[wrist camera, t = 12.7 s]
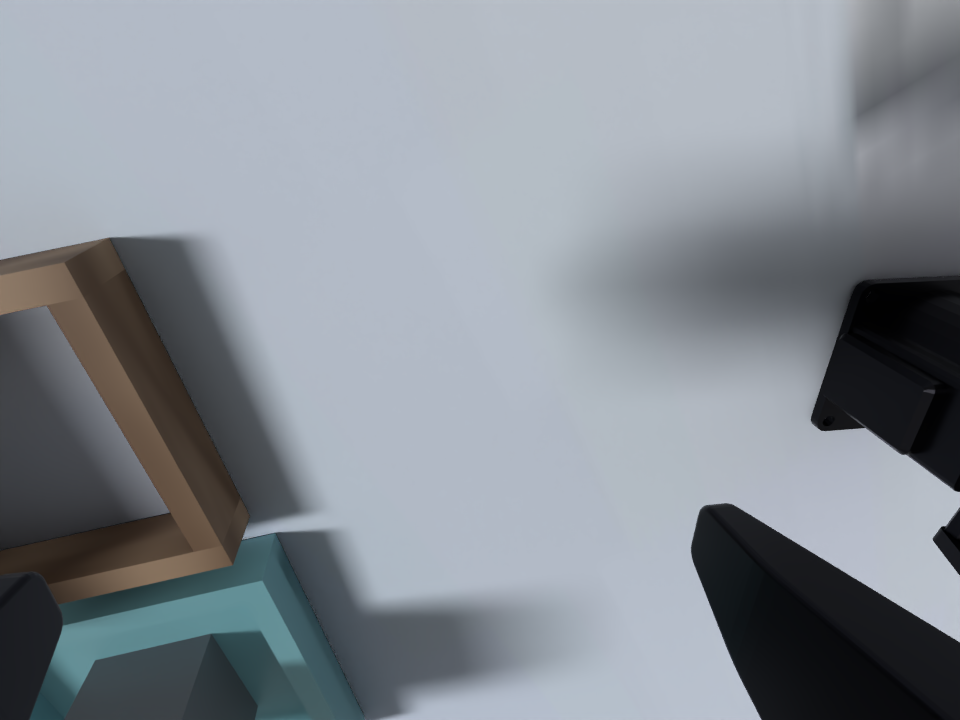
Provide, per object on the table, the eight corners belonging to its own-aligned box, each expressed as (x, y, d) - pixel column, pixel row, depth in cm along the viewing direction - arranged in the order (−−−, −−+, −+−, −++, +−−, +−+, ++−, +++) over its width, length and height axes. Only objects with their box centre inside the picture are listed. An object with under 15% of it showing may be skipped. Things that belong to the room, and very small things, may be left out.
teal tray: (275, 533, 22) (262, 580, 20) (364, 716, 29) (361, 767, 27) (-44, 604, 22) (-91, 660, 20) (118, 774, 28) (95, 830, 26)
